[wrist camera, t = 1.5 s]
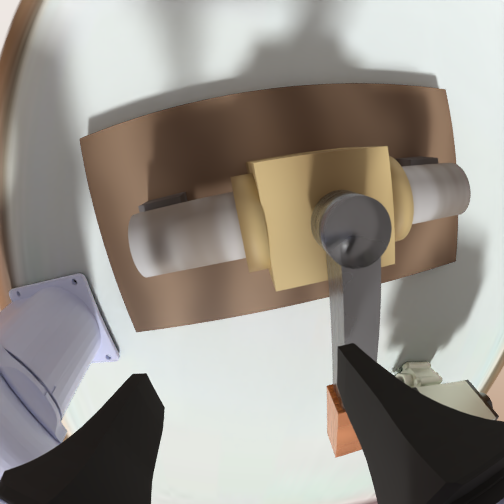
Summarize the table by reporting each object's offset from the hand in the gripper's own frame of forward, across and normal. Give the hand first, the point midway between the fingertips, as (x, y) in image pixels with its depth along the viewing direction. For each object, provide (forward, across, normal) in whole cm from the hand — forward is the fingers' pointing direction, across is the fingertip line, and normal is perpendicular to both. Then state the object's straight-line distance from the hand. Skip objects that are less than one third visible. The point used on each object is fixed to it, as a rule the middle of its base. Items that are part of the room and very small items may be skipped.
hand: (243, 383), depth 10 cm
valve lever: (+3, -5, +2) cm, 6 cm away
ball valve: (+11, -5, -4) cm, 12 cm away
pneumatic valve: (+11, -15, +15) cm, 24 cm away
